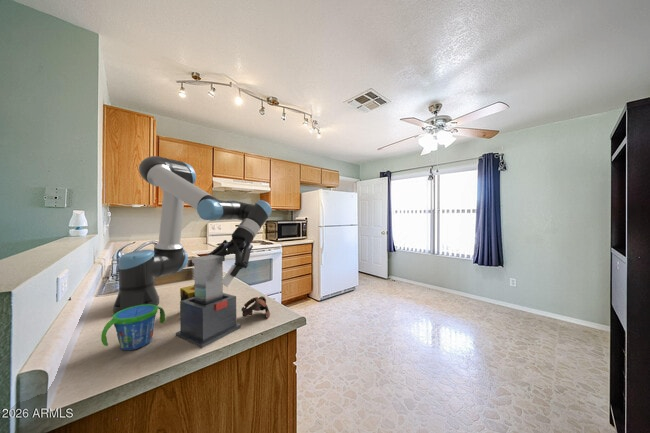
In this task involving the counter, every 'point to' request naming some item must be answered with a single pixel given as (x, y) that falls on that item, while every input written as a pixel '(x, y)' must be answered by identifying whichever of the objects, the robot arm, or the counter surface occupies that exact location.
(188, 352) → the counter surface
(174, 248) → the robot arm
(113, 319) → the snack cup
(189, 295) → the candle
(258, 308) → the brown curved open arch
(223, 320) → the sleeve
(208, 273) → the column
